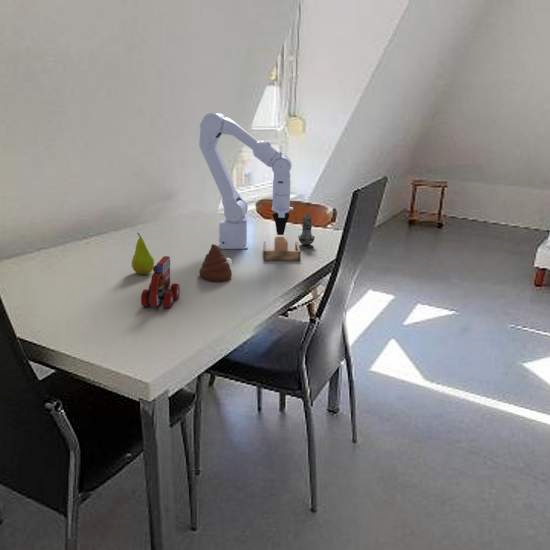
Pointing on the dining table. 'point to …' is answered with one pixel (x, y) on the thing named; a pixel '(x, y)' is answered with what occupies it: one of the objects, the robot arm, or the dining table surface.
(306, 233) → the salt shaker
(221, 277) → the poop emoji
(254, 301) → the dining table surface
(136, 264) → the fruit
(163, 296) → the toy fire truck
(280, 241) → the tall block
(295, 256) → the walnut tray
